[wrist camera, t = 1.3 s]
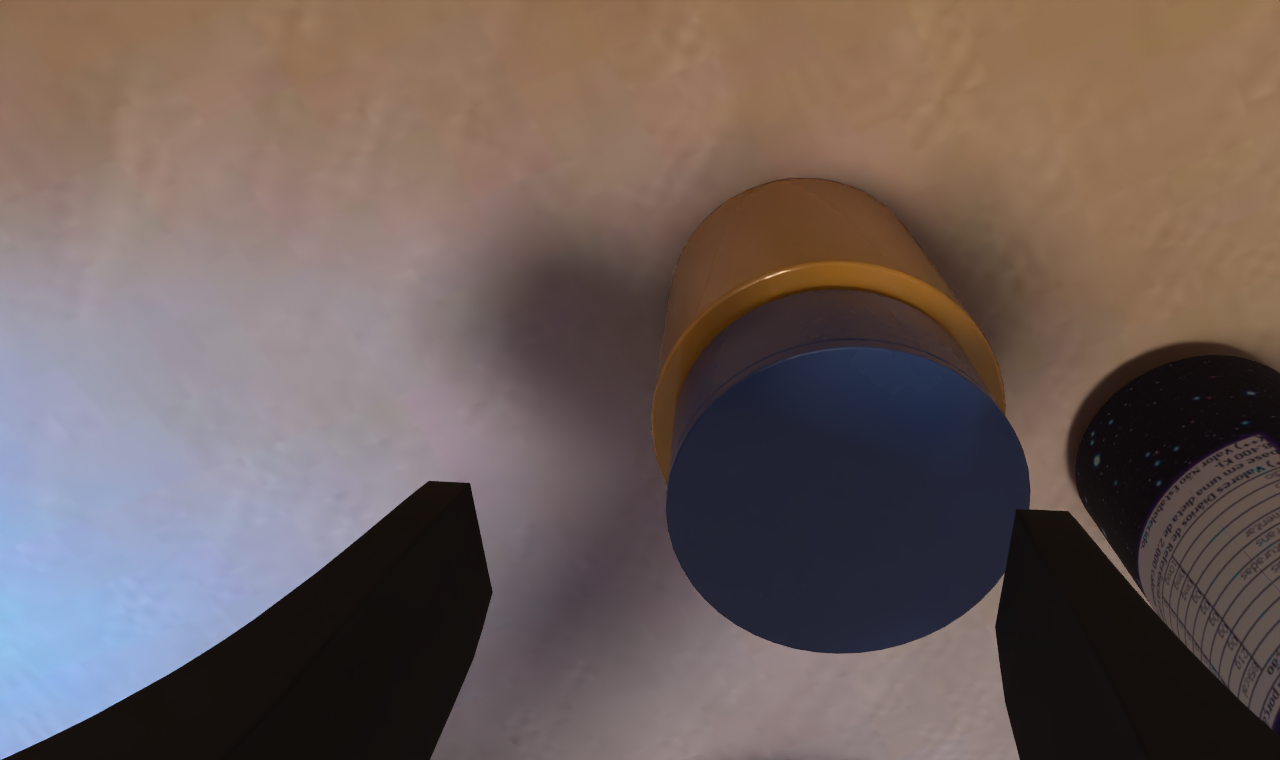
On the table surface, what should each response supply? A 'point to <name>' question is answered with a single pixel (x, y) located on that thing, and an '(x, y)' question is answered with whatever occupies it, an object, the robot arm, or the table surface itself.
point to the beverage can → (1198, 510)
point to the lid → (841, 474)
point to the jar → (797, 277)
